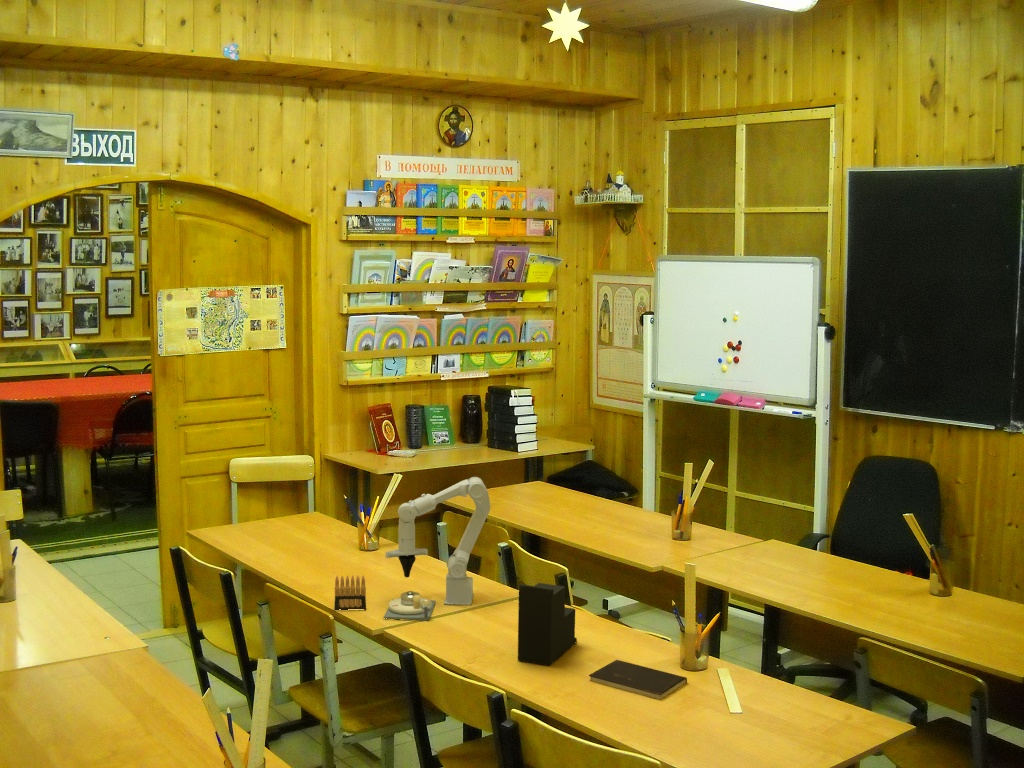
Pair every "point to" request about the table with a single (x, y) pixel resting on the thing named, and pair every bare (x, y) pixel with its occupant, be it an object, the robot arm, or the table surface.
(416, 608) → the turntable
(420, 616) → the base plate
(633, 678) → the hardcover book
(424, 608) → the dial gauge
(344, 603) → the ammunition clip
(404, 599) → the cover
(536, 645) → the bookend
